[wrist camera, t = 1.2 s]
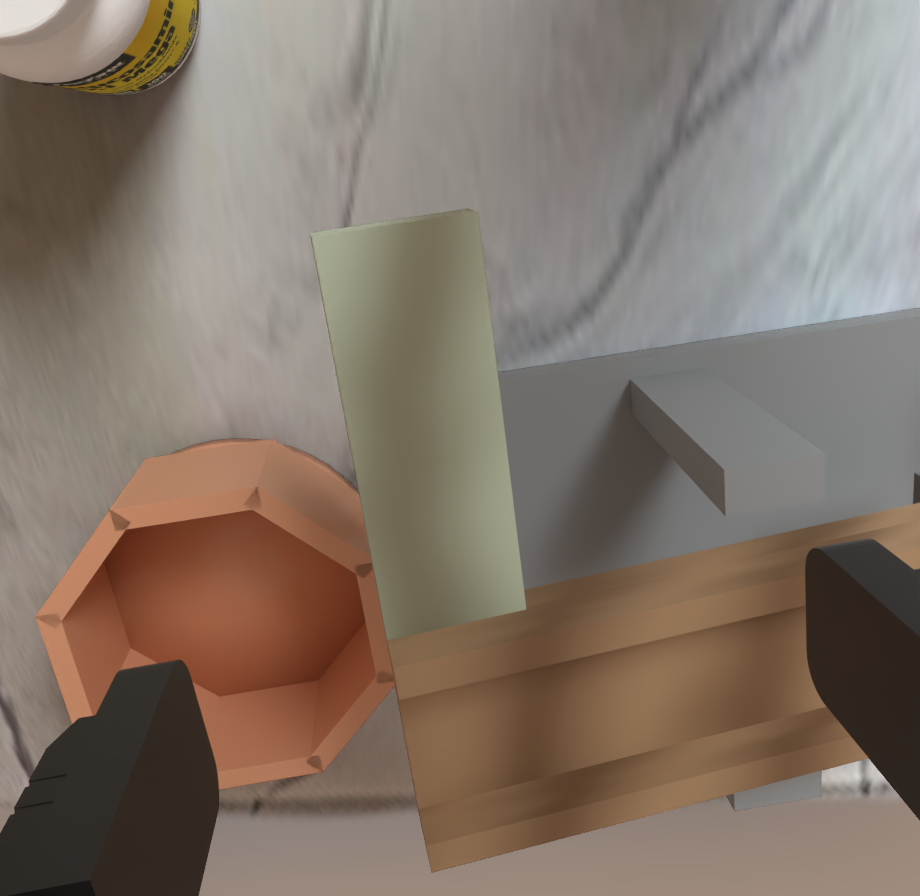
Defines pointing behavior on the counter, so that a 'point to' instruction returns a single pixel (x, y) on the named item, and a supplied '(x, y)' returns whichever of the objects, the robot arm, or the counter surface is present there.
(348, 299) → the chute
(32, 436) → the counter surface
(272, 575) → the orange octagonal bowl
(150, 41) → the pill bottle
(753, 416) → the chute stand
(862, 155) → the counter surface
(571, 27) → the counter surface
